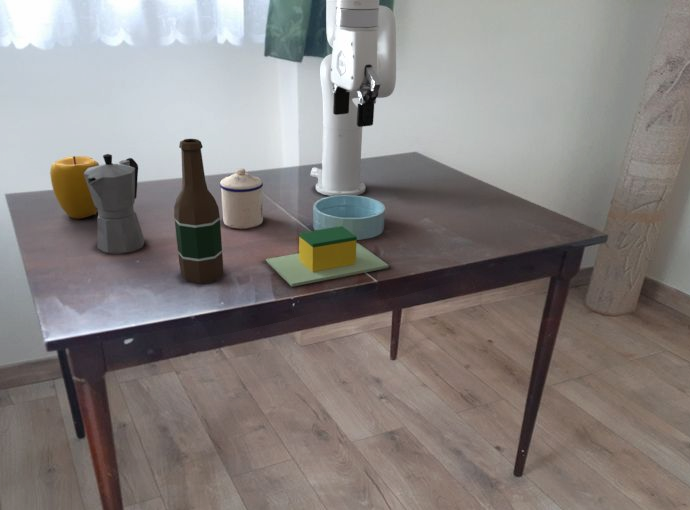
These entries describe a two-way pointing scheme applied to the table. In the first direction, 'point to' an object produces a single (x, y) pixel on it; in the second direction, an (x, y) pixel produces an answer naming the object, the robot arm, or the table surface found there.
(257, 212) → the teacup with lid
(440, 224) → the table surface
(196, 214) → the beer bottle
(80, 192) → the apple
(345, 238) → the sponge
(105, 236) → the coffeepot
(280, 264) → the mat
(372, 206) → the bowl
